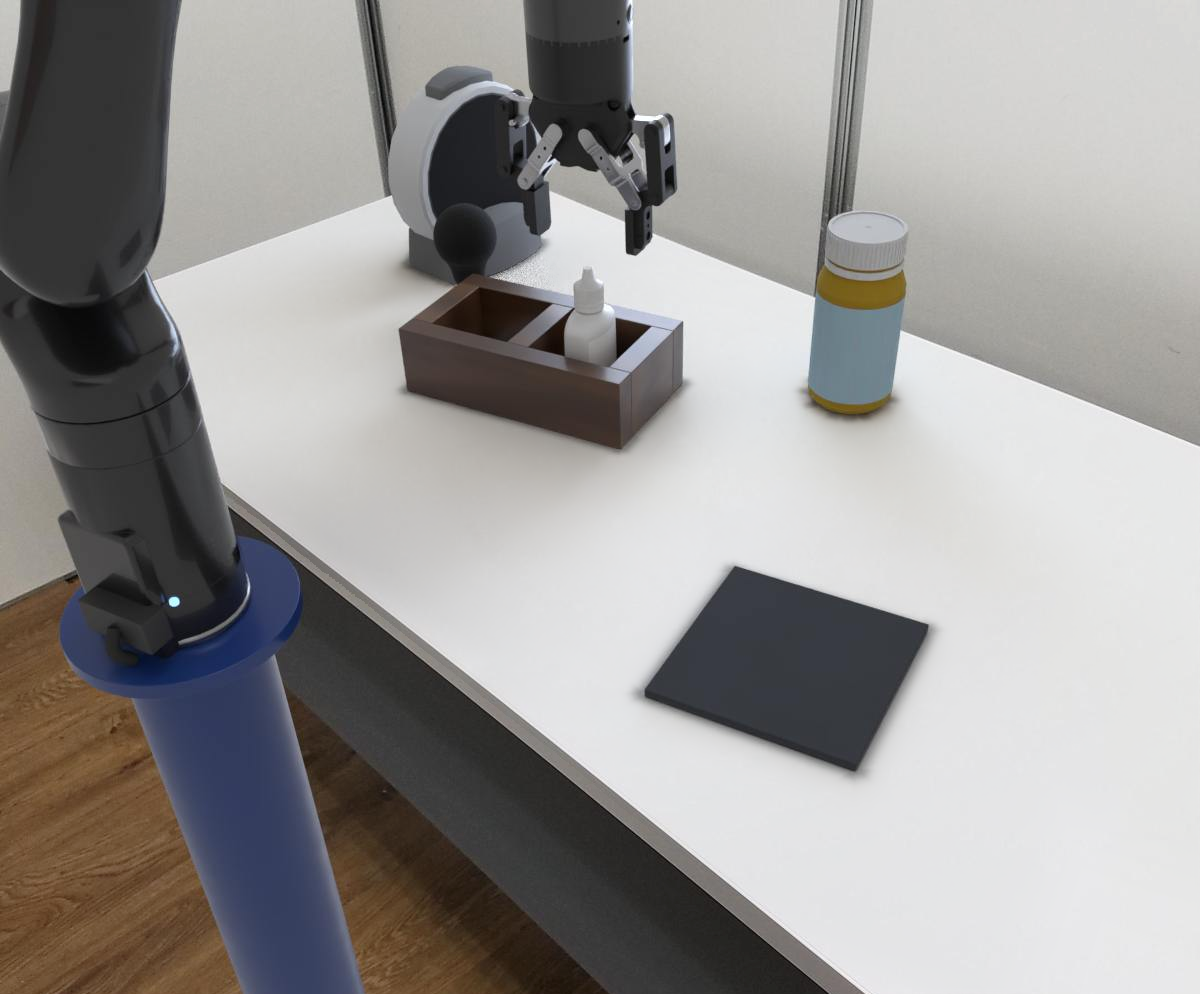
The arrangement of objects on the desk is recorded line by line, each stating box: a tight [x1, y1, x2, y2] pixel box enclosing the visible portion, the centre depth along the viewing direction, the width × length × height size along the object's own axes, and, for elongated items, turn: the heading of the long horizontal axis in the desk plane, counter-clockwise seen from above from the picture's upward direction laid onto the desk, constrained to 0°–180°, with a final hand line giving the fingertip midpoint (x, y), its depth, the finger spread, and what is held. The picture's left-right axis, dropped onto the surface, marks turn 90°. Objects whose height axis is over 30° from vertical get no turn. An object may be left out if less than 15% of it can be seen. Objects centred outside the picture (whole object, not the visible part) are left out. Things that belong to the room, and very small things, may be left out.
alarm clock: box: [387, 65, 543, 285], centre depth 124 cm, size 16×10×18 cm, turn 136°
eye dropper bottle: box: [564, 265, 617, 367], centre depth 103 cm, size 4×6×12 cm
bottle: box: [807, 209, 909, 415], centre depth 102 cm, size 7×7×15 cm
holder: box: [397, 274, 684, 450], centre depth 107 cm, size 12×21×6 cm, turn 61°
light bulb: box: [433, 203, 497, 286], centre depth 118 cm, size 6×6×10 cm
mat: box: [644, 565, 930, 771], centre depth 81 cm, size 14×14×1 cm
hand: (588, 241), depth 98 cm, fingers open, 8 cm apart
